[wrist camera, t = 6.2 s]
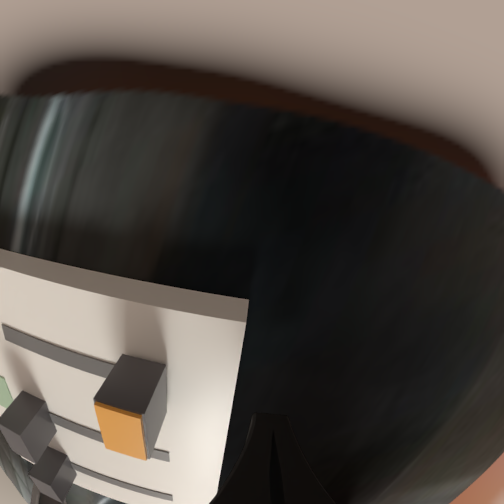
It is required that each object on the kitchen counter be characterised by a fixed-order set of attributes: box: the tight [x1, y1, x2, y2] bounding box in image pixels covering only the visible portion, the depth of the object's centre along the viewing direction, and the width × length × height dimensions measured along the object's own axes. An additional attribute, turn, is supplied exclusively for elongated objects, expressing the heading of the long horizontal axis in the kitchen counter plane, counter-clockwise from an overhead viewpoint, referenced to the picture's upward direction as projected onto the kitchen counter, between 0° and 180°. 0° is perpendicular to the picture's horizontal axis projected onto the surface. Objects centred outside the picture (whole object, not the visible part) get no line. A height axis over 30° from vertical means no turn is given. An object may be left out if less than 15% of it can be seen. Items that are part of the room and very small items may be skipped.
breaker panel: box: [0, 249, 249, 504], centre depth 14 cm, size 18×20×5 cm
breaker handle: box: [93, 354, 167, 461], centre depth 11 cm, size 2×3×3 cm, turn 171°
